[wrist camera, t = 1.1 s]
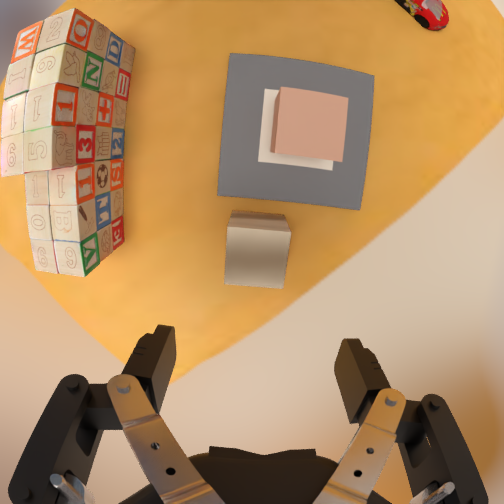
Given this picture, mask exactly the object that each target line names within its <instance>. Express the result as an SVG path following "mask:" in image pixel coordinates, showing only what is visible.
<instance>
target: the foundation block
mask: <svg viewBox="0 0 504 504" xmlns="http://www.w3.org/2000/svg"><path fill="white" fill-rule="evenodd" d="M347 110H348V98H347V97H342V96H337V95H332V94H327V93H322V92H316V91H310V90H303V89H297V88H289V87H280V90H279V92H278V94H277V96H276V98H275V104H274V115H273V125H272V136H271V146H270V152H272V153H279V154H288V155H296V156H304V157H311V158H318V159H325V160H332V161H338V162H342V160H343V151H344V142H345V132H346V122H347Z"/></svg>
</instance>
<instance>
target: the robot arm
mask: <svg viewBox="0 0 504 504" xmlns="http://www.w3.org/2000/svg"><path fill="white" fill-rule="evenodd" d="M175 361H176V341H175V329H174V327H173V326H166V325H158V326H157V327H156V330H155V332H154V334H149V333H146V334H145V335H144V336H143V337H141V338H140V339H139V341H138V342H137V344H136V347H135V348H134V350H133V353H132V354H131V356H130V358H129V360H128V362H127V364H126V365H125V367H124V369H123V371H122V373H121V375H117V376H114V377H113V378H111V379H110V380H109V382H108V383H106V384H89V383H88V381H87V380H86V378H85V377H84V376H81V375H78V374H71V375H68V376H66V377H64V378H63V379H62V380H61V381H60V383H59V384H58V386H57V388H56V389H55V391H54V393H53V395H52V397H51V398H50V400H49V402H48V404H47V406H46V408H45V409H44V412H43V413H42V415H41V417H40V419H39V421H38V423H37V425H36V427H35V429H34V431H33V433H32V435H31V437H30V439H29V441H28V443H27V445H26V447H25V449H24V451H23V454H22V456H21V458H20V460H19V462H18V465H17V467H16V470H15V472H14V474H13V477H12V479H11V481H10V484H9V487H8V494H9V497H10V500H11V501H12V503H13V504H95V499H94V496H93V494H92V493H91V492H90V491H89V490H88V489H87V487H86V484H87V481H88V477H89V474H90V471H91V468H92V465H93V461H94V458H95V455H96V452H97V449H98V446H99V443H100V440H101V437H102V434H103V431H104V430H123V431H124V433H125V436H126V438H127V440H128V442H129V444H130V446H131V448H132V450H133V452H134V454H135V456H136V458H137V460H138V462H139V464H140V466H141V468H142V470H143V472H144V473H145V475H146V477H147V479H148V481H149V482H150V484H149V485H147V486H145V487H144V488H142V489H141V490H139V491H138V492H136V493H135V494H133V495H132V496H130V497H128V498H127V499H126V500H124V501H122V502H120V503H119V504H392V503H390V502H389V501H387V500H386V499H384V498H383V497H382V496H380V495H379V494H378V493H376V492H375V491H373V490H372V489H373V487H374V485H375V483H376V481H377V479H378V477H379V475H380V473H381V471H382V469H383V467H384V465H385V463H386V460H387V458H388V456H389V454H390V451H391V449H392V447H393V444H394V442H397V443H398V446H399V449H400V452H401V456H402V459H403V462H404V466H405V469H406V473H407V476H408V480H409V484H410V487H411V491H412V495H413V499H412V500H411V501H410V504H488V496H487V493H486V490H485V488H484V485H483V482H482V480H481V478H480V475H479V472H478V470H477V467H476V465H475V462H474V460H473V458H472V456H471V453H470V451H469V449H468V447H467V444H466V442H465V440H464V438H463V436H462V434H461V431H460V429H459V427H458V425H457V423H456V421H455V419H454V417H453V415H452V413H451V411H450V409H449V407H448V405H447V404H446V402H445V400H444V399H443V398H442V397H440V396H438V395H435V394H428V395H426V396H424V397H423V399H422V400H421V402H420V401H411V400H406V399H405V397H404V395H403V394H402V393H401V392H399V391H398V390H395V389H392V388H391V387H390V385H389V382H388V380H387V378H386V376H385V374H384V372H383V370H382V369H381V366H380V364H379V363H378V360H377V359H376V356H375V354H373V353H372V352H371V351H370V350H369V349H368V348H363V346H362V343H361V341H360V340H359V339H343V340H342V343H341V346H340V349H339V352H338V355H337V358H336V361H335V366H334V372H335V376H336V379H337V383H338V386H339V389H340V392H341V395H342V399H343V402H344V406H345V409H346V412H347V416H348V419H349V422H350V424H351V423H359V428H358V430H357V432H356V434H355V436H354V437H353V439H352V441H351V442H350V444H349V446H348V447H347V449H346V450H345V452H344V454H343V455H342V457H341V458H340V460H339V462H338V463H336V462H335V461H332V460H331V459H328V458H325V457H321V456H316V451H315V449H301V450H287V451H283V452H278V453H274V454H268V455H260V454H256V453H252V452H247V451H244V450H240V449H236V448H224V447H214V446H210V447H209V453H202V454H197V455H194V456H191V457H187V456H186V455H185V453H184V452H183V450H182V449H181V447H180V446H179V444H178V443H177V441H176V440H175V438H174V437H173V435H172V433H171V432H170V430H169V429H168V427H167V426H166V424H165V422H164V420H163V419H162V417H161V416H160V415H159V412H160V409H161V406H162V403H163V400H164V396H165V393H166V390H167V387H168V384H169V381H170V377H171V374H172V371H173V368H174V365H175ZM426 437H428V440H429V443H430V445H429V443H428V440H427V438H426ZM430 446H431V448H430Z"/></svg>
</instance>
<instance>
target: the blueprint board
mask: <svg viewBox="0 0 504 504" xmlns="http://www.w3.org/2000/svg"><path fill="white" fill-rule="evenodd" d="M280 87H289V88H297V89H303V90H310V91H316V92H322V93H327V94H332V95H337V96H342V97H347V98H348V110H347V122H346V132H345V142H344V151H343V160H342V162H338V161H332V160H325V159H318V158H311V157H304V156H296V155H288V154H279V153H272V152H270V146H271V136H272V125H273V115H274V104H275V98H276V96H277V94H278V92H279V90H280ZM373 93H374V76H373V75H370V74H366V73H362V72H358V71H354V70H350V69H346V68H341V67H337V66H332V65H327V64H322V63H317V62H311V61H305V60H298V59H291V58H283V57H275V56H265V55H253V54H236V53H230V58H229V67H228V76H227V85H226V95H225V105H224V116H223V127H222V139H221V151H220V164H219V178H218V193H217V196H230V197H243V198H255V199H266V200H276V201H286V202H296V203H305V204H314V205H322V206H330V207H338V208H346V209H353V210H360V207H361V201H362V195H363V188H364V182H365V174H366V167H367V159H368V151H369V142H370V132H371V121H372V108H373Z"/></svg>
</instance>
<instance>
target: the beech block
mask: <svg viewBox="0 0 504 504" xmlns="http://www.w3.org/2000/svg"><path fill="white" fill-rule="evenodd" d="M290 237H291V231H290V228H289V226H288V224H287V221H286V219H285V217H284V215H280V214H270V213H259V212H247V211H235V210H233V211H232V214H231V217H230V220H229V224H228V227H227V242H226V259H225V277H224V284H229V285H241V286H254V287H267V288H280V289H283V286H284V280H285V273H286V266H287V259H288V252H289V245H290Z"/></svg>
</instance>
